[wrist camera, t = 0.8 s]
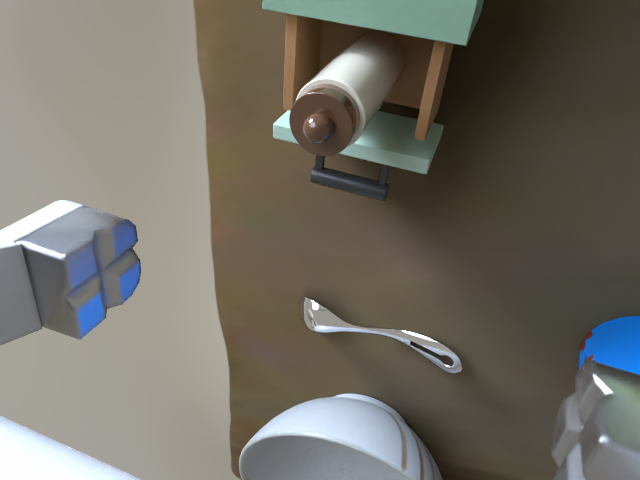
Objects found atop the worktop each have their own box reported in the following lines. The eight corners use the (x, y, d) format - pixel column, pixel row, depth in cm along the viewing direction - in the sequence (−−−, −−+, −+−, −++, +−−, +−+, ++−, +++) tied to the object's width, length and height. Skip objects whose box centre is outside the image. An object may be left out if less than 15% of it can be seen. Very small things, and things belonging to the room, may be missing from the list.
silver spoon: (465, 369, 53) (452, 396, 56) (471, 346, 56) (458, 372, 59) (291, 300, 58) (288, 328, 61) (304, 281, 61) (300, 309, 63)
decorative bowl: (494, 401, 60) (485, 499, 51) (435, 506, 77) (420, 593, 67) (283, 326, 65) (240, 402, 56) (271, 439, 82) (236, 512, 73)
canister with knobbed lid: (351, 25, 39) (276, 87, 28) (410, 36, 38) (355, 104, 27) (345, 83, 42) (274, 160, 31) (399, 95, 41) (346, 178, 30)
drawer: (429, 182, 46) (415, 222, 41) (300, 150, 48) (271, 184, 43) (485, -43, 35) (474, -27, 30) (314, -67, 38) (277, -57, 32)
